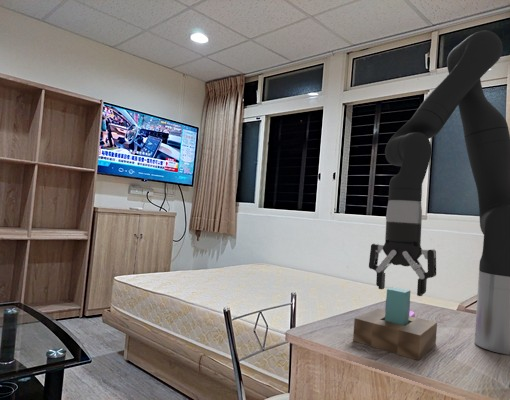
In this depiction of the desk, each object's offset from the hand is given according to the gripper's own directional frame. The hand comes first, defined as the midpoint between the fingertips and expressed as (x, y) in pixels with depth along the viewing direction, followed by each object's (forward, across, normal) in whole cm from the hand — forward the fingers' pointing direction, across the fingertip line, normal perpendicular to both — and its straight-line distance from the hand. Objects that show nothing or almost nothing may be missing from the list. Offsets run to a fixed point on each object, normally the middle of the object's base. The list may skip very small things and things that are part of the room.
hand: (400, 292), depth 84 cm
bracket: (+12, +6, -24) cm, 27 cm away
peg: (+12, +1, 0) cm, 12 cm away
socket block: (+12, +1, 0) cm, 12 cm away
